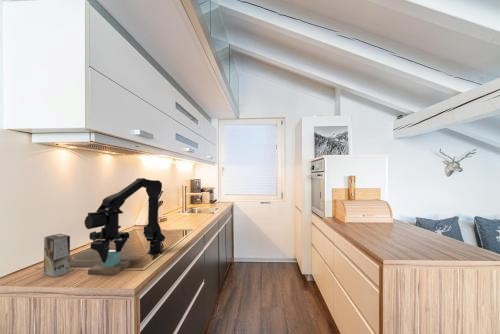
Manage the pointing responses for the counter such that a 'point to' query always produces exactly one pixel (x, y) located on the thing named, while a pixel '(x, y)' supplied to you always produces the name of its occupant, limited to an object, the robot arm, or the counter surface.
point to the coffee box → (56, 255)
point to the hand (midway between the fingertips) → (111, 258)
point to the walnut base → (109, 268)
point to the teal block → (112, 259)
